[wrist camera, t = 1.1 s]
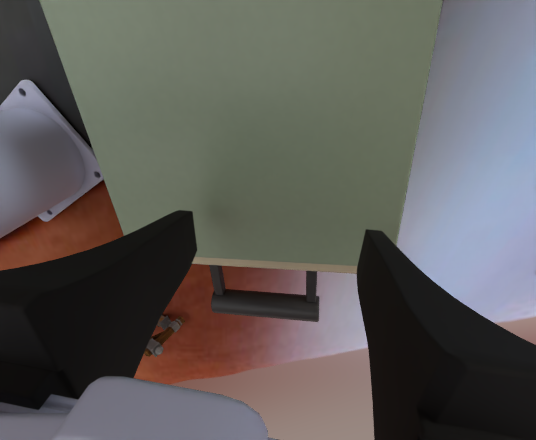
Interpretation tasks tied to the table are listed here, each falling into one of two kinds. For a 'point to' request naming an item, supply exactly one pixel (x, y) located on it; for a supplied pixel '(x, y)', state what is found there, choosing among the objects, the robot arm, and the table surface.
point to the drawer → (267, 301)
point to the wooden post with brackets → (162, 335)
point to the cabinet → (253, 115)
